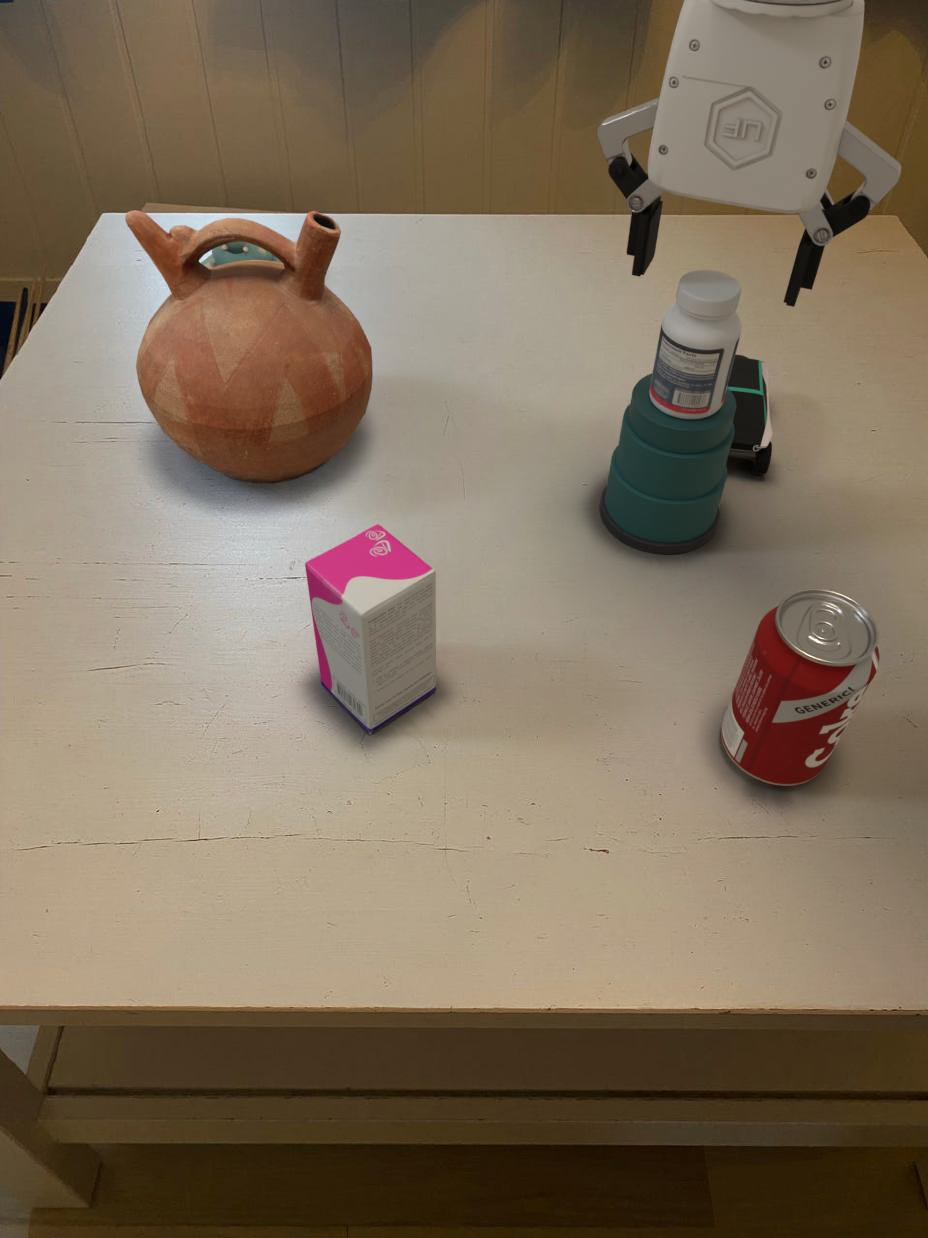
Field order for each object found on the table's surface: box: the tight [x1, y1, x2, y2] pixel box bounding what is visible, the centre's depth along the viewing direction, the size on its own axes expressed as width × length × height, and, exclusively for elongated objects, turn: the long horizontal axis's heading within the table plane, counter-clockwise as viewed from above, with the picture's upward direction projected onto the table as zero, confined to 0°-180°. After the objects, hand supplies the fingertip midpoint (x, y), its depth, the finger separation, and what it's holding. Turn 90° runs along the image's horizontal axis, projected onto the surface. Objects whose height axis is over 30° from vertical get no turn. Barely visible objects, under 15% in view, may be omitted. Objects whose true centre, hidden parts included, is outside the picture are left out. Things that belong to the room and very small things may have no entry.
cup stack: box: [599, 372, 736, 555], centre depth 72 cm, size 9×9×11 cm
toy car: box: [727, 354, 774, 475], centre depth 81 cm, size 6×12×5 cm, turn 170°
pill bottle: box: [649, 269, 743, 419], centre depth 64 cm, size 5×5×9 cm
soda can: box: [720, 588, 880, 787], centre depth 56 cm, size 7×7×12 cm
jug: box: [124, 209, 374, 484], centre depth 73 cm, size 18×18×20 cm
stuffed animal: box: [200, 242, 282, 269], centre depth 95 cm, size 11×7×12 cm
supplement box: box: [304, 523, 437, 735], centre depth 59 cm, size 6×6×12 cm
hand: (716, 281), depth 60 cm, fingers open, 9 cm apart
